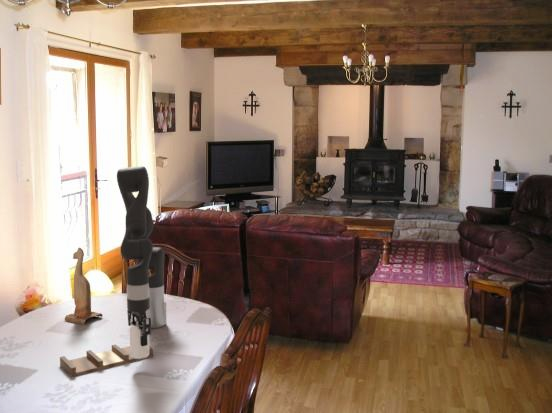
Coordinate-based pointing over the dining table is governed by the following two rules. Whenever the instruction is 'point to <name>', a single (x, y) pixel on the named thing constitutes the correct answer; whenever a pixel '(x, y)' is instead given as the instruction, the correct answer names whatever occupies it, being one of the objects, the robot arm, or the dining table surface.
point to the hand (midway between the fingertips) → (139, 342)
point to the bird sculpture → (81, 294)
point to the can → (137, 343)
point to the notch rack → (99, 360)
